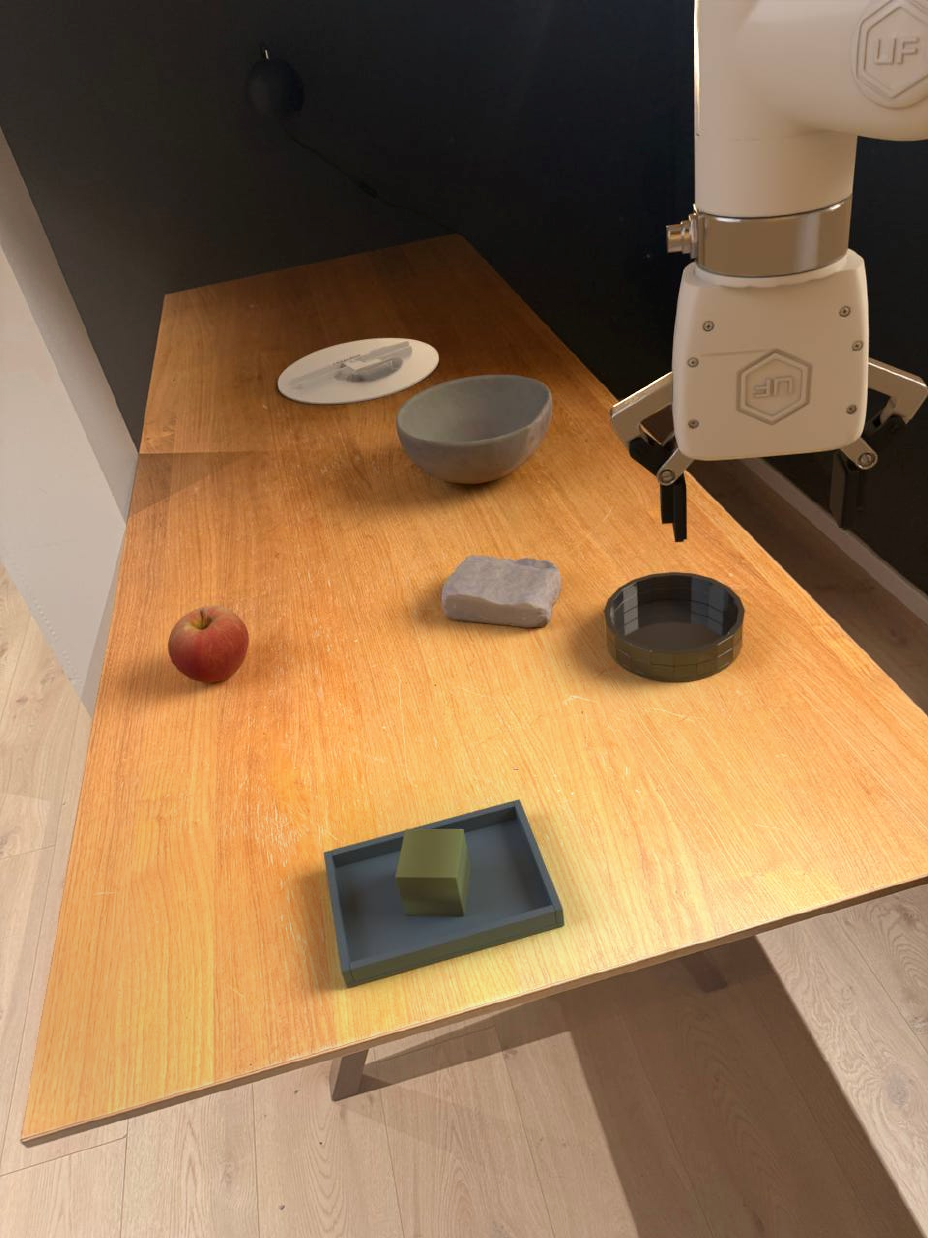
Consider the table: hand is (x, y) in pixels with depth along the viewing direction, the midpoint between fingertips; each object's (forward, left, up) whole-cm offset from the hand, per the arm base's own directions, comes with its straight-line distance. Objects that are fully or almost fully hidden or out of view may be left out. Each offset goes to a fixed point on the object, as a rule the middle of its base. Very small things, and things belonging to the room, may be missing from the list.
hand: (758, 524), depth 58 cm
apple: (+54, +7, -28) cm, 61 cm away
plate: (+96, -62, -28) cm, 117 cm away
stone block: (+34, -17, -28) cm, 47 cm away
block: (+16, +18, -27) cm, 36 cm away
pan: (+15, -19, -27) cm, 36 cm away
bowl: (+54, -40, -28) cm, 72 cm away
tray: (+16, +18, -27) cm, 36 cm away
